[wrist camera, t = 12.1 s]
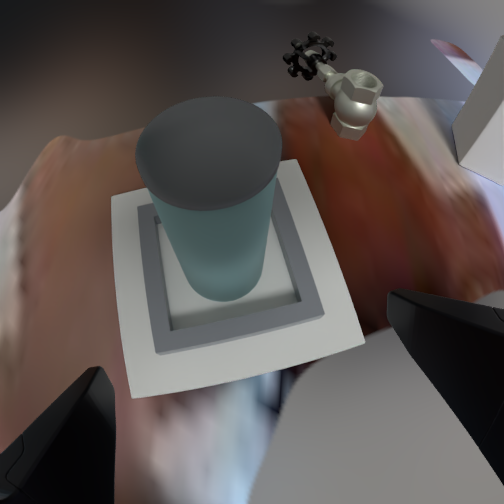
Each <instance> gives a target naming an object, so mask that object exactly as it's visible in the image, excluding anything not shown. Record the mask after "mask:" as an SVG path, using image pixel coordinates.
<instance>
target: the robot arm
mask: <svg viewBox="0 0 504 504" xmlns="http://www.w3.org/2000/svg"><path fill="white" fill-rule="evenodd" d="M387 317H388V320H389V322H390V324H391V325H392V327H393V328H394V330H395V332H396V333H397V335H398V336H399V338H400V340H401V341H402V343H403V344H404V346H405V348H406V349H407V351H408V352H409V354H410V355H411V356H412V358H413V359H414V360H415V362H416V363H417V364H418V366H419V367H420V368H421V370H422V371H423V372H424V373H425V375H426V376H427V377H428V378H429V380H430V381H431V383H432V384H433V385H434V387H435V388H436V389H437V391H438V392H439V393H440V394H441V396H442V397H443V399H444V400H445V401H446V403H447V404H448V405H449V407H450V408H451V409H452V411H453V412H454V414H455V415H456V416H457V418H458V419H459V421H460V422H461V423H462V425H463V426H464V428H465V429H466V430H467V431H468V433H469V434H470V436H471V437H472V439H473V440H474V442H475V443H476V445H477V446H478V447H479V449H480V451H481V452H482V454H483V455H484V457H485V458H486V460H487V461H488V463H489V464H490V466H491V467H492V468H493V470H494V472H495V473H496V475H497V476H498V478H499V479H500V481H501V482H502V484H503V485H504V309H500V308H495V307H493V308H492V307H490V306H485V305H480V304H475V303H470V302H465V301H460V300H455V299H450V298H445V297H441V296H436V295H431V294H426V293H421V292H416V291H411V290H406V289H402V288H398V289H396V290H393V291H390V292H389V293H388V297H387ZM115 449H116V417H115V391H114V387H113V385H112V383H111V382H110V380H109V378H108V376H107V374H106V373H105V371H104V369H103V368H102V367H101V366H96V367H90V368H88V369H87V370H86V371H85V372H84V373H83V374H82V375H81V376H80V377H79V378H78V379H77V380H76V381H74V382H73V383H72V384H71V385H70V386H69V387H68V388H67V389H66V390H65V391H64V392H63V393H62V394H61V395H60V396H59V397H58V398H57V399H56V400H55V401H54V402H53V403H52V404H51V405H50V406H49V407H48V408H47V409H46V410H45V411H44V412H43V413H42V414H41V415H40V416H39V417H38V418H37V419H36V420H35V421H34V422H33V423H32V424H31V425H30V426H29V427H28V428H27V429H26V430H25V431H24V432H23V434H21V435H20V436H19V437H18V438H17V439H16V440H15V441H14V442H13V443H12V444H11V445H10V446H8V447H7V448H6V449H5V450H4V451H3V452H2V453H1V454H0V504H114V480H115Z"/></svg>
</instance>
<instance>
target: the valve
mask: <svg viewBox="0 0 504 504" xmlns="http://www.w3.org/2000/svg"><path fill="white" fill-rule="evenodd" d="M317 39H320V36H319V35H318V34H316V33H315V32H311V33H309V34H308V40H307V41H306V42H301V41H300V40H299V39H293V40H292V41H291V45H292V46H293V47H294V48H295V50H294V52H293V53H292V54H290V53H287V54H285V55H284V56H283V60H284V61H285V62H286V63H287V64H288V65H290V64H291V62H292V63H293V66H291V67H289V68H288V73H289V74H290V75H291V76H292V77H297V76H298V75H297V72H298V71H301V72H302V76H303V77H304V79H305V80H307V81H309V80H311V79H312V78H313V76H315V75H318V76H319V78H320V79H321V80H322V81H323V82H326V83H325V91H326V93H327V94H328V95H329V96H330V98H332V99H333V100H335V101H334V108H335V112H334V113H333V116H332V120H331V123H330V125H331V126H332V128H333V129H334V130H335V132H336V133H337V134H338V136H339V137H342V138H347V139H352V140H356V141H358V140H359V139H360V137H361V136H362V135H363V134H364V133H365V132H366V129H367V127H368V124H369V123H370V122H371V121H372V120H373V118H374V116H375V114H376V111H377V101H376V100H377V99H378V98H379V96H380V93H381V91H382V88H383V84H382V83H381V81H380V80H379V79H378V78H377V77H376V76H374V75H372V74H371V73H369V72H366V71H363V70H357V69H352V70H350V71H348V72H347V73H346V74H343V73H337V72H336V71H335V70H334V69H333V68H332V67H331V66H329V65H327V62H326V61H327V60H328V59H330V60H331V61H334V60H335V59H336V58H337V55H336V54H335V53H334V52H333V51H331V50H328V49H327V47H328V46H331V47H333V45H334V42H333V41H332V40H331V39H330V38H328V37H325V38H323V39H322V41H317ZM310 46H318V47H320V48H321V50H322V55H320V54H318V53H316V52H314V51H312V50H309V51H307V52H306V53H304V52H303V50H304V49H306V48H308V47H310ZM299 56H300V57H302V58H303V60H304V61H305V62H306V64H307V65H308V66H309V67H303V66H300V65H299V63H298V58H299Z"/></svg>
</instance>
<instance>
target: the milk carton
mask: <svg viewBox="0 0 504 504" xmlns="http://www.w3.org/2000/svg"><path fill="white" fill-rule="evenodd" d="M452 131H453V135H454V140H455V145H456V150H457V156H458V161H459V165H461V166H463V167H465V168H467V169H469V170H471V171H473V172H475V173H477V174H479V175H481V176H483V177H485V178H487V179H489V180H491V181H493V182H495V183H497V184H499V185H501V186H503V185H504V35H502V36H501V37H500V39H499V41H498V43H497V45H496V47H495V49H494V51H493V53H492V55H491V57H490V59H489V61H488V62H487V64H486V66H485V68H484V70H483V72H482V74H481V76H480V77H479V79H478V81H477V83H476V85H475V86H474V88H473V90H472V92H471V94H470V95H469V97H468V99H467V100H466V102H465V104H464V106H463V107H462V109H461V111H460V112H459V114H458V116H457V117H456V119H455V121H454V122H453V124H452Z"/></svg>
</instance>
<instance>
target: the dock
mask: <svg viewBox="0 0 504 504" xmlns="http://www.w3.org/2000/svg"><path fill="white" fill-rule="evenodd" d="M111 219H112V246H113V263H114V276H115V288H116V298H117V308H118V316H119V324H120V332H121V339H122V346H123V352H124V359H125V365H126V370H127V376H128V381H129V387H130V392H131V397H132V398H143V397H150V396H156V395H163V394H169V393H175V392H181V391H187V390H192V389H197V388H203V387H208V386H213V385H218V384H222V383H227V382H232V381H236V380H240V379H245V378H249V377H253V376H257V375H261V374H265V373H269V372H273V371H277V370H281V369H284V368H288V367H292V366H295V365H299V364H302V363H306V362H309V361H312V360H316V359H319V358H322V357H326V356H329V355H332V354H335V353H338V352H341V351H344V350H347V349H350V348H353V347H356V346H359V345H362V344H364V343H365V340H364V337H363V334H362V331H361V327H360V324H359V321H358V318H357V315H356V312H355V309H354V306H353V303H352V300H351V297H350V295H349V292H348V289H347V286H346V283H345V280H344V278H343V275H342V272H341V269H340V266H339V264H338V261H337V258H336V256H335V253H334V250H333V248H332V245H331V242H330V240H329V237H328V235H327V232H326V229H325V227H324V224H323V222H322V219H321V217H320V214H319V212H318V209H317V207H316V204H315V202H314V199H313V197H312V195H311V192H310V190H309V187H308V185H307V183H306V180H305V178H304V176H303V173H302V171H301V169H300V166H299V164H298V162H297V159H293V160H286V161H280V163H279V167H278V170H277V177H276V184H275V190H274V197H273V204H272V210H271V217H270V224H269V230H268V237H267V243H266V250H265V256H264V263H263V269H262V274H261V277H260V279H259V281H258V283H257V285H256V286H255V287H254V288H253V289H252V290H251V291H250V292H249V293H248V294H247V295H245V296H243V297H242V298H239V299H237V300H234V301H228V302H217V301H212V300H209V299H206V298H204V297H202V296H201V295H199V294H198V293H197V292H196V291H195V290H193V288H192V287H191V286H190V284H189V282H188V281H187V278H186V276H185V274H184V272H183V270H182V268H181V265H180V263H179V261H178V259H177V257H176V254H175V252H174V250H173V248H172V245H171V243H170V241H169V239H168V236H167V234H166V232H165V230H164V227H163V225H162V223H161V220H160V218H159V216H158V213H157V211H156V208H155V206H154V204H153V201H152V199H151V196H150V194H149V191H148V189H147V188H143V189H139V190H135V191H131V192H127V193H123V194H119V195H115V196H111Z"/></svg>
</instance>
